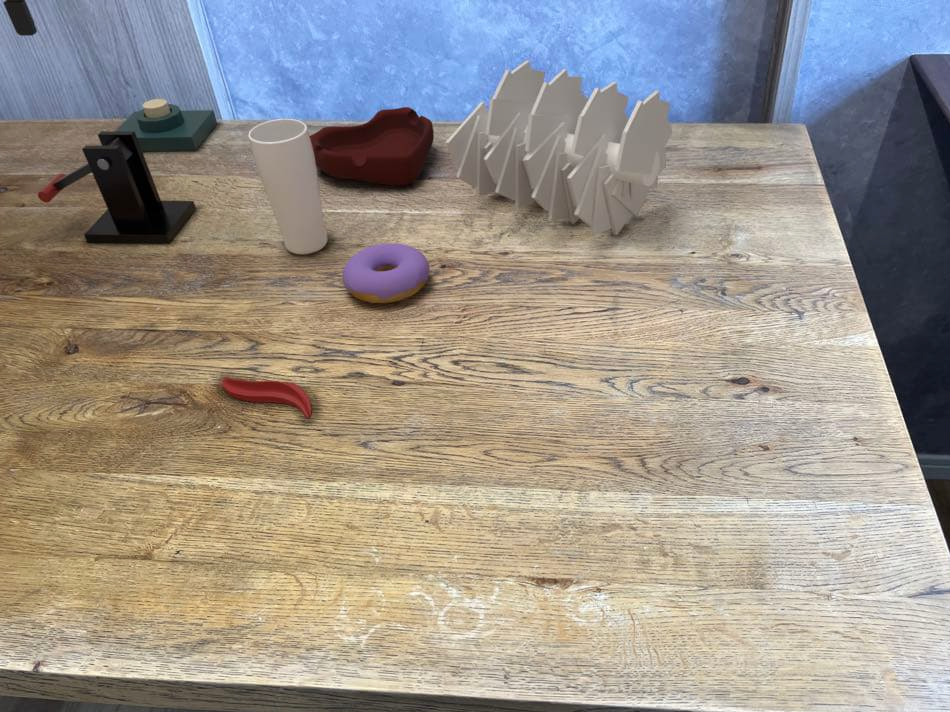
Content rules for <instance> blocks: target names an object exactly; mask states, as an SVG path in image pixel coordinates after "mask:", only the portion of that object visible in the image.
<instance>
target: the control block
mask: <svg viewBox="0 0 950 712" xmlns="http://www.w3.org/2000/svg"><path fill="white" fill-rule="evenodd" d="M168 106H169V109H170V112H171V113H170V114H168V115H166V116H163V117H159V118H147V117H146V114H145V112H144V109H143V108H142V109H141V110H139V111H138V110H137V111H133V112H132V113H131V114H130V115H129V116H128V117H127V118H126V119H125V120H124V121H123V122H122V123H121V124H120V125H119V127H117V129H115V131H135V134H136V136H137V139H138V142H139V144H140V147H141V149H142V152H190V151H192V152H194V151H197V150H198V149H199V148H200V146H201V145H202V144H203V142H204V141H205V140H206V138H207V137H208V136H209V135H210V133H211V132H212V131H213V130H214V128H215V127H216V126H217V125H218V119H217V117H216V114H215V111H214V110H213V109H206V110H205V109H202V110H201V109H200V110H199V109H197V110H196V109H195V110H181V108H180V106H179V105H176V104H172V103H168Z"/></svg>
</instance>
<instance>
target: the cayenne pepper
mask: <svg viewBox="0 0 950 712" xmlns="http://www.w3.org/2000/svg"><path fill="white" fill-rule="evenodd" d="M221 385H222V387H223V390H224V392H225V393H226V394H228V395H229V396H231V397H232V398H234V399H237V400H240V401H245V402H255V403H277V404H278V403H280V404H287V405H291V406H293V407H296V408H297V409H299V410H300V411H301V413H303V414H304V416H305V417H306V418H307V419H310V417H311V416H312V414H313V413H312V410H313V409H312V402H311V400H310V398H309V396H308V394H307V392H306V391H305V390H304V389H303V388H302V387H301V386H300V385H299V384H295V383H293V382H287V381H277V380H259V381H253V380H245V379H238V378H232V377H228V376H223V378H222V380H221Z"/></svg>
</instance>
